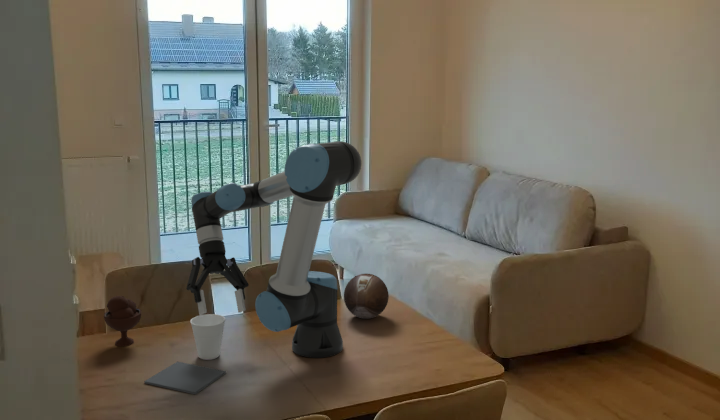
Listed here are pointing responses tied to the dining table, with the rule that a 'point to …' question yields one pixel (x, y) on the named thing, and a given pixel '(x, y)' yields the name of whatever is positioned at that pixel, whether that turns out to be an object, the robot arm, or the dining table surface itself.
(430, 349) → the dining table surface
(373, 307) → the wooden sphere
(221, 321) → the cup
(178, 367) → the mat
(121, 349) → the dining table surface
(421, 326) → the dining table surface
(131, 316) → the ice cream bowl
